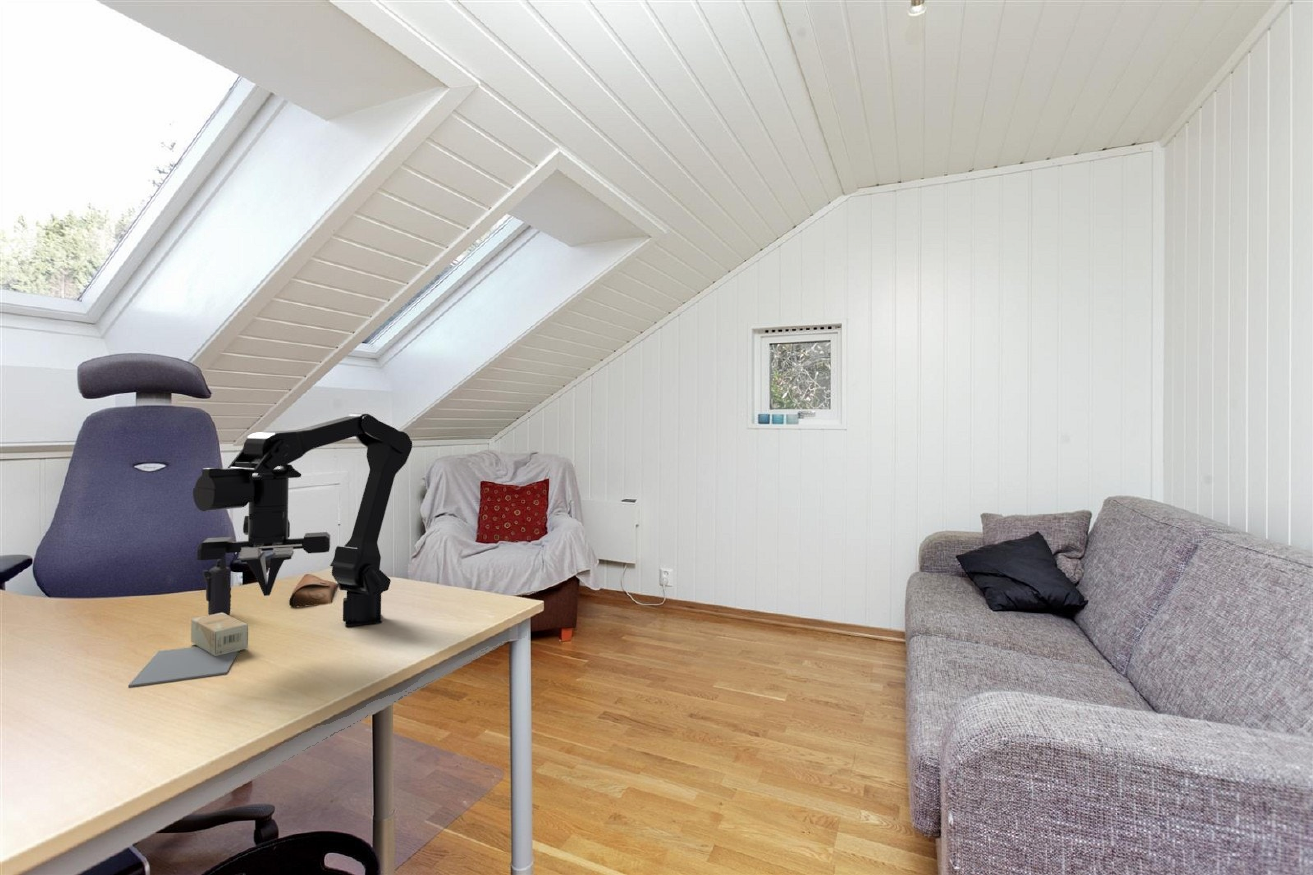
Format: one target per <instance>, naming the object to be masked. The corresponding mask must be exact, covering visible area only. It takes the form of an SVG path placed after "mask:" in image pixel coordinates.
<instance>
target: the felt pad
mask: <svg viewBox="0 0 1313 875" xmlns="http://www.w3.org/2000/svg"><path fill="white" fill-rule="evenodd" d="M239 652H240V650H239V651H235V652H231V653H227V654H223V655H218V656H214V655H212V654H210V653H209V652H207V651H205V650H204V649H202V648H200V647H199V646H191V647H182V648H176V649H175V648H174V649H165V650H158V651H157V652H156V654H155V655H154V656H153V657H152V658H151V660H149V661H148V663H147V664H146V665H145V666H144V667H143V668H142V669H141V670H140V671H139V672H138V674H137V675H136V676H135V677H133V679H132V681H130V683H129V684H128V685H127V686H128V688H132V687H133V688H134V687H139V686H141V687H142V686H149V685H154V684H162V683H170V682H177V681H183V680H191V679H198V678H205V677H212V676H219V675H227V674H228V673H229V670H230V669H231V667H232V665H233V663H234V661H235V659H236V657H237V656H238V654H239Z"/></svg>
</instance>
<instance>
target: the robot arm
mask: <svg viewBox="0 0 1313 875" xmlns="http://www.w3.org/2000/svg"><path fill="white" fill-rule="evenodd" d="M351 438H355V439H357V441H358V443H360V444H361V445H363V446H364V447H366V448H367V450H366V460H367V463H368V467H369V473H368V476H367V479H366V483H365V486H364V490H363V494H362V498H361V501H360V505H359V509H358V512H357V515H356V518H355V522H354V526H353V530H352V533H351V537H350V539H349V540H348V541H347V542H346V543H345V544H344V546H343V545H337V546H336V547H335V549H334V554H333V555H334V556H333V559H332V562H331V563H330V564H329V567H332V568H331V576H332V577H333V578H334V580H335V582H337V584H338V586H337V587H338V588H339V590H340V591H345V592H346V597H343V599H342V600H343V601H342V621H343V622H345V626H344V627H355V626H356V627H357V626H365V625H373V624H380V623H382V622H383V619H382V618H383V617H382V594H383V593H385V592H387V591H388V590H389V588H390V584H391V578H389V577H388V576H387V575H386V574H385V573H384V572H383V571H382V570H381V569H380V568H381V559H382V556H381V553H380V549H379V545H378V542H379V541H378V540H379V537H380V534H381V529H382V526H383V522H384V518H385V514H386V510H387V507H388V502H389V500H390V496H391V492H392V488H393V486H394V480H395V477H396V475H397V474H398V472H399V471H400V470H401V469H402V468H403V467H404V465H406V464H407V461H408V459H409V456H410V454H411V452H412V449H413V441H412V440H411V438H410V436H409V434H408V433H406V432H405V431H401V430H399V429H396V428H395V427H393V426H391V425H390V424H386V423H385V422H383V421H380V420H379V419H377V418H376V417H375V416H373V415H371V414H369V413H351V414H349V415H348V416H345V417H340V418H336V419H332V420H329V421H325V422H321V423H318V424H313V425H310V426H305V427H301V428H298V429H290V430H271V431H261V432H260V431H259V432H254V433H251V434H249V435H248V436H246V440H245V442H243V447H242V448H241V450H240V452H239V453H238V454H237V455H236V457H235V458H233V460H232V461H231V463H229V465H228V467H226V468H224V467H223V468H218V467H216V468H215V467H203V468H202V469H201V476H199V477H198V479H196V483H195V484H194V487H193V488H192V497H193V502H194V504H195V506H196V508H197V509H198V511H202V512H211V511H220V510H221V511H222V510H230V509H233V510H234V509H241V508H245V507H246V506H247V505H248V515H245V516H244V519H243V525H242V533H243V534H244V535H246V536H247V540H243V541H241V540H240V541H234V539H233V536H225V537H224V536H222V537H208V538H206V539H205V540H204V541H202V542H201V543H200V544H198V546H197V553H196V554H197V555H196V556H197V561H209V560H210V561H212V560H220V559H221V558H222V557H223V556H224V555H225V554H226V555H227V554H233V553H235V554H236V553H240V555H241V557H240V559H239V563H242V564H245V563H246V564H247V566H248V567H249V569H250V570H251V572H252V573H253V575H254V577H255V579H256V581H257V583H258V586H259V588H260V589H261V592H262V594H263V596H264V597H267V596H268V597H269V596H270V595H271V594H272V590H273V587H274V585H275V582H276V580H277V577H278V574H279V571H280V569H281V568H282V565H283V563H284V562H285V561H288V560H292V558H293V556H294V550H300V549H302V550H304V551H305V552H306V554H321V553H324V554H325V553H328V552H330V549H331V535H330V534H329V532H327V531H324V532H323V531H322V532H321V531H320V532H306V533H304V535H303V537H297V538H295V537H294V538H290V536H291V535H290V534H291V528H290V527H291V523H290V520H289V484H290V483H289V479H294V478H295V479H297V478H301V477H302V473H301V472H299V471H298V470H296V469H295V468H294V467H293V465H292V464H291V463H293V462H294V461H295V462H296V461H297V460H299V459H300V458H302V457H303V456H304V455H306V453H308V452H310V451H312V450H314V449H317V448H320V447H321V448H322V447H323V446H327V445H331V444H333V443H337V442H341V441H344V440H348V439H351ZM277 467H278V468H277ZM253 474H256V475H253ZM266 551H269V552H270V551H272V553H273V554H272V556H271V557H270V562H269V569H268V575H267V568H266V567H267V566H266Z"/></svg>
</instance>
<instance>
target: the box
mask: <svg viewBox="0 0 1313 875" xmlns="http://www.w3.org/2000/svg"><path fill="white" fill-rule="evenodd" d="M190 642H191V644H193V645H196V647H198V646H199V647H200V648H202V649H204V650H205V651H207V652H209V653H210V654H212V655H214V656H218V655H223V654H227V653H231V652H235V651H239V652H240V651H242V650H246V649H248V647H249V624H248V623H246V622H244V621H241V620H239V619H237V618H235V617H233V616H231V615H227V614H225V613H218V614H213V615H204V616H198V617H195V618H192V619H191V623H190Z"/></svg>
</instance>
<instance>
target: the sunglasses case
mask: <svg viewBox="0 0 1313 875" xmlns="http://www.w3.org/2000/svg"><path fill="white" fill-rule="evenodd" d="M337 587H339V586H338V583H336V581H335V582H334V581H331V580H327V579H322V578H321V577H319V576H316V575H314V574H312V573H306V574H304V575H303V576H302V578H301V580H300V581H299V582H298V583H297V585H296V586H295V588H294V590H293V591H292V593H291V595H290V597H289V600H288V601H289V602H288V604H289V606H290V607H291V608H292V607H293V608H298V607H297V606H303V607H306V606H305V605H313V606H315V605H314V604H323V605H330V603H331V602H332V599H333V594H334V592H335V590H336V589H337ZM331 604H332V603H331Z"/></svg>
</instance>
